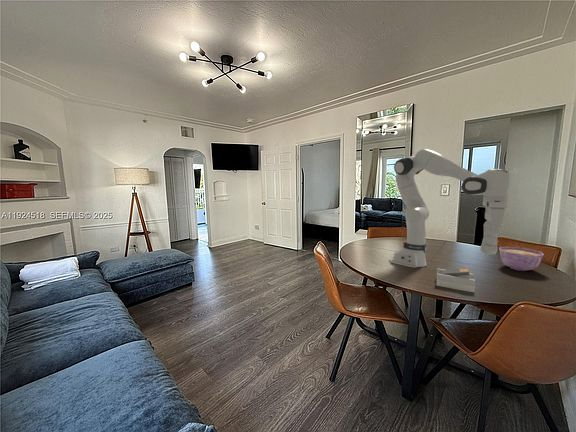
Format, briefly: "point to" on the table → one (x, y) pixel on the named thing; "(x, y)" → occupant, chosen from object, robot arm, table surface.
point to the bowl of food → (520, 258)
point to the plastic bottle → (490, 239)
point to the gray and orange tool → (455, 272)
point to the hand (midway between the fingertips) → (491, 230)
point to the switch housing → (456, 281)
